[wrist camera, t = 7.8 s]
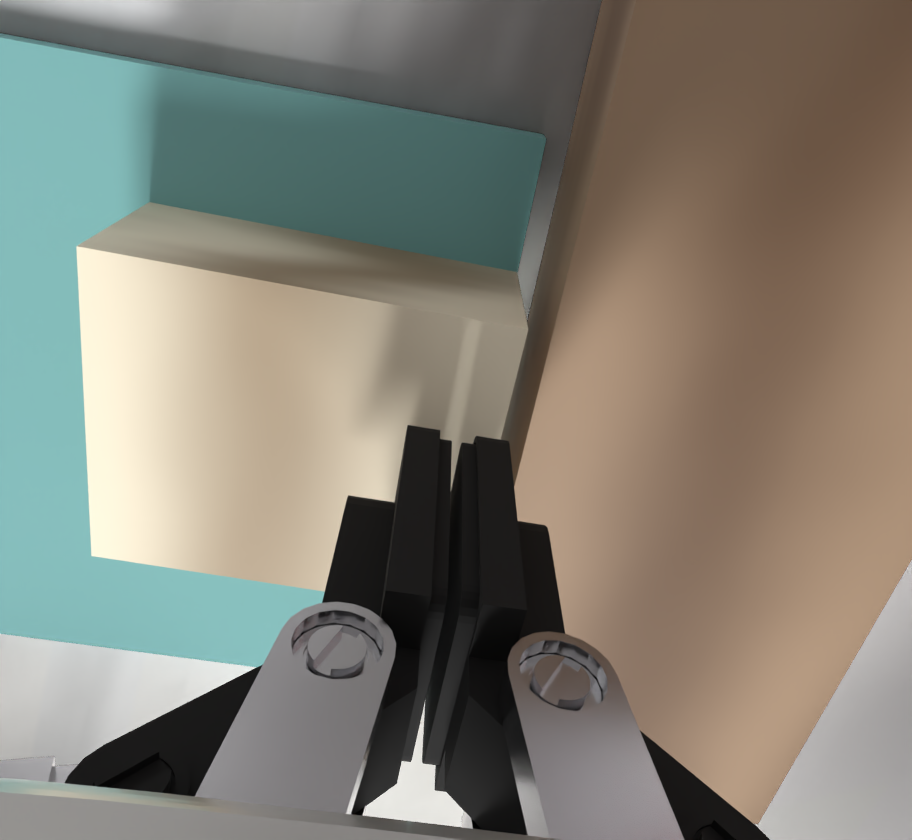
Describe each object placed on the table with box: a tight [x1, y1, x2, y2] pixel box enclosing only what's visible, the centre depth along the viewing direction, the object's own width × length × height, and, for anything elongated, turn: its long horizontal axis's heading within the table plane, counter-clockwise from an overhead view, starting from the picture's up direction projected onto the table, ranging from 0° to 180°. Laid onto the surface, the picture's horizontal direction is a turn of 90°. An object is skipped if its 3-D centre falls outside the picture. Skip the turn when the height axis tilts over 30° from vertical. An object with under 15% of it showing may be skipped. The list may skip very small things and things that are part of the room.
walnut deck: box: [501, 0, 912, 824], centre depth 16 cm, size 8×18×3 cm, turn 170°
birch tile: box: [76, 202, 528, 591], centre depth 14 cm, size 7×6×3 cm
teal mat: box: [0, 33, 546, 667], centre depth 17 cm, size 12×14×1 cm
